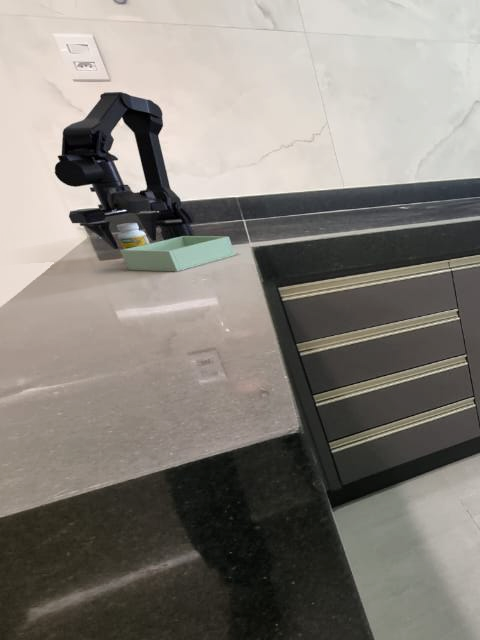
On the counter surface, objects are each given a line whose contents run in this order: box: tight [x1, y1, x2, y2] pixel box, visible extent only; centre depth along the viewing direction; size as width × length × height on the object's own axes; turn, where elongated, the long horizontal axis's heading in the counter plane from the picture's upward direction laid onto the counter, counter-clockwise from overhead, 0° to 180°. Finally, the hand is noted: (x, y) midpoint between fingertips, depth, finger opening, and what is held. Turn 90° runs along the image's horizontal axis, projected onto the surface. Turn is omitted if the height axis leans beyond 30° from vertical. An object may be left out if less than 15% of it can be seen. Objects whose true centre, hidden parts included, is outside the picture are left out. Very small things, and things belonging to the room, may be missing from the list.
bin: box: [119, 235, 236, 272], centre depth 135 cm, size 16×16×5 cm
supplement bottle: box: [116, 222, 151, 250], centre depth 137 cm, size 5×5×10 cm
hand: (135, 244), depth 137 cm, fingers open, 9 cm apart
